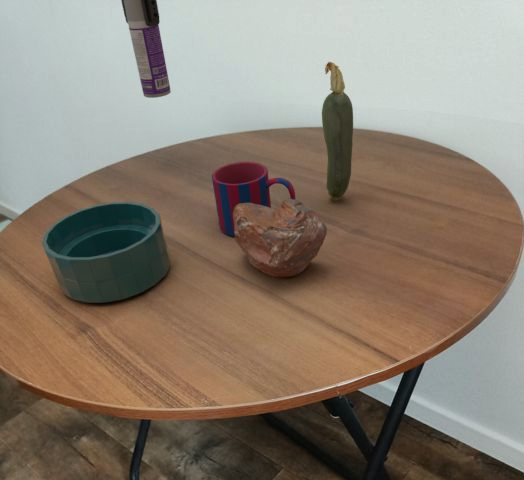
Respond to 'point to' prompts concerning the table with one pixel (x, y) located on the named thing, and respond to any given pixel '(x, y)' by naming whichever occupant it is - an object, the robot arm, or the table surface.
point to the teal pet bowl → (107, 251)
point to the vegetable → (337, 134)
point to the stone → (279, 236)
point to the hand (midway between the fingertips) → (143, 23)
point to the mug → (242, 190)
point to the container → (147, 51)
